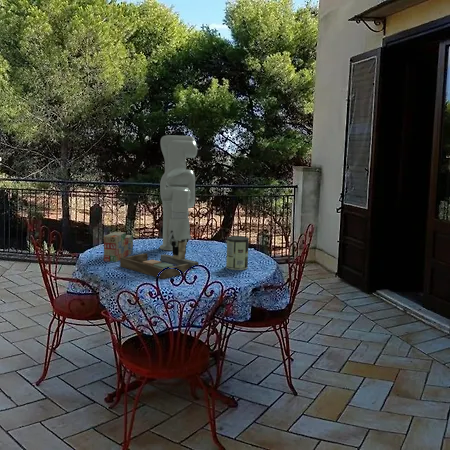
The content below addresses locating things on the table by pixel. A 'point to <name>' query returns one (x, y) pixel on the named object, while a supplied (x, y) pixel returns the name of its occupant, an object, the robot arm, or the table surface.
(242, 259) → the coffee can
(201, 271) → the table surface
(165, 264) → the tile sage
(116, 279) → the table surface
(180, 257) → the scraper
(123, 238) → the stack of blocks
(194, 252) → the table surface
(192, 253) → the table surface
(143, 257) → the box
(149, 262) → the tile terracotta
